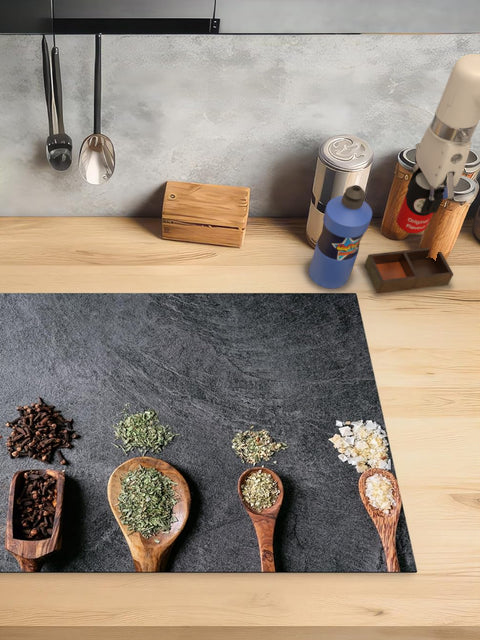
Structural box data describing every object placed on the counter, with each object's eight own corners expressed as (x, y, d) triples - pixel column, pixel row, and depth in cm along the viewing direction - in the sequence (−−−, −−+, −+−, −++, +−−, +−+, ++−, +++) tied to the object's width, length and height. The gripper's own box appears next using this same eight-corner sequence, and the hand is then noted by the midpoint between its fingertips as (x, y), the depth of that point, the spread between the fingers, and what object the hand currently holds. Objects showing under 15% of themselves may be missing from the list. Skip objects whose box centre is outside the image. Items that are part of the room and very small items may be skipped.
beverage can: (388, 222, 153) (406, 177, 144) (409, 210, 155) (428, 165, 146) (411, 240, 150) (430, 195, 140) (432, 228, 152) (453, 183, 142)
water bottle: (356, 285, 164) (388, 200, 144) (316, 292, 163) (343, 207, 143) (340, 255, 170) (369, 169, 149) (302, 262, 169) (325, 176, 148)
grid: (433, 257, 169) (438, 246, 166) (447, 285, 164) (453, 274, 161) (364, 265, 168) (368, 254, 165) (376, 293, 163) (381, 282, 160)
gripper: (494, 153, 128) (456, 228, 142) (453, 94, 138) (422, 170, 152) (453, 157, 127) (419, 232, 142) (415, 98, 137) (388, 174, 152)
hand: (421, 199), depth 147 cm, fingers closed on beverage can, 6 cm apart
